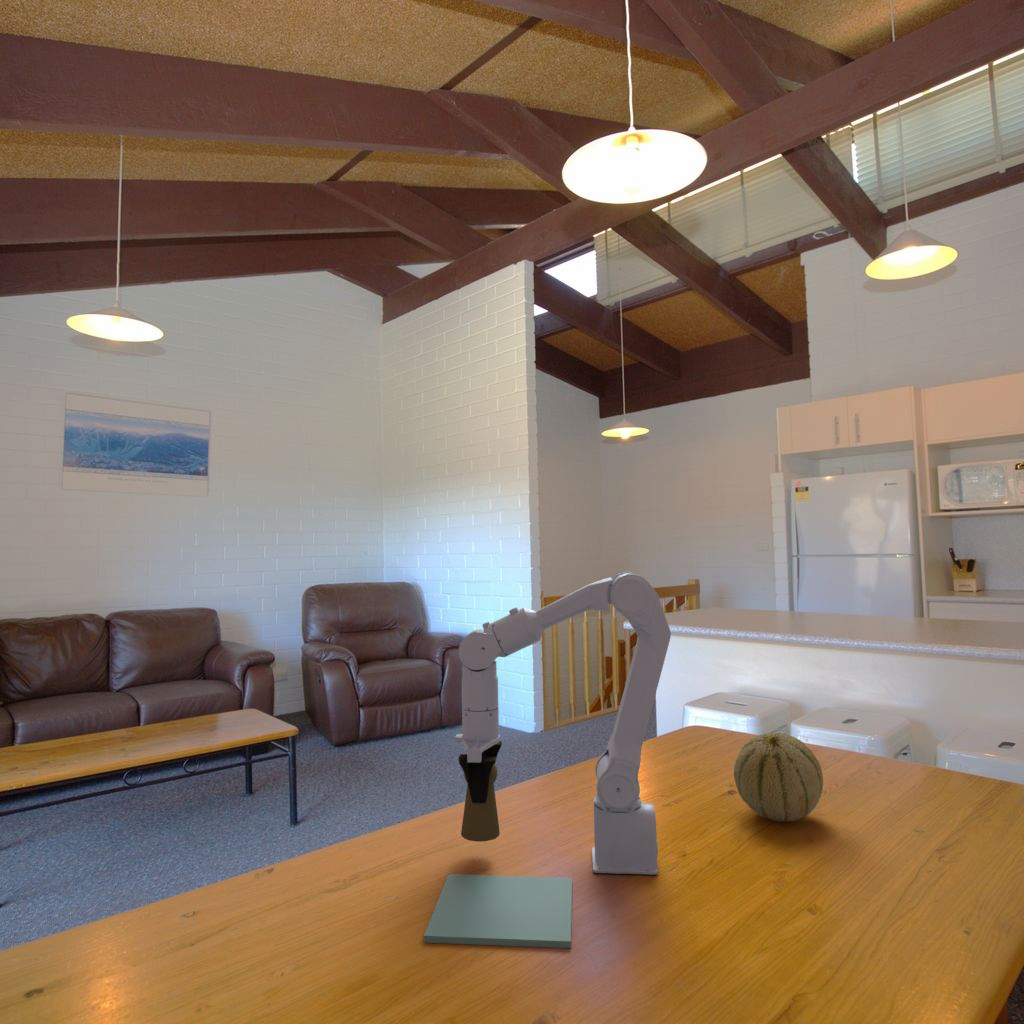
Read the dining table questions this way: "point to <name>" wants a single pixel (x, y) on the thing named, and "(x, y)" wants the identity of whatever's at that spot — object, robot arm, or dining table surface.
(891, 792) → the dining table surface
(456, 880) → the teal board
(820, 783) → the cantaloupe
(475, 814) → the olive game pawn
